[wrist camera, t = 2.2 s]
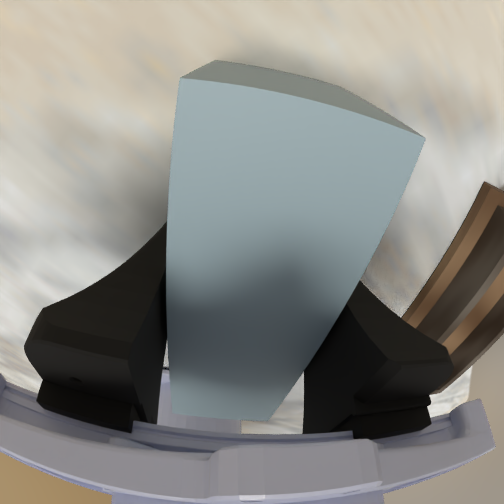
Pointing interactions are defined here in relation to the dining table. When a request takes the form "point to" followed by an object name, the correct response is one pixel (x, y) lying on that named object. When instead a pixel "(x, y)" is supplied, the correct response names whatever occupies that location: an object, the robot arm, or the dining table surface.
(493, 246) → the cradle
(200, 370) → the pale blue bar
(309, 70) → the dining table surface
